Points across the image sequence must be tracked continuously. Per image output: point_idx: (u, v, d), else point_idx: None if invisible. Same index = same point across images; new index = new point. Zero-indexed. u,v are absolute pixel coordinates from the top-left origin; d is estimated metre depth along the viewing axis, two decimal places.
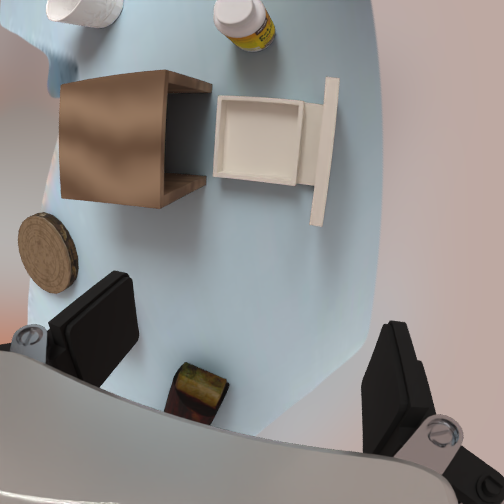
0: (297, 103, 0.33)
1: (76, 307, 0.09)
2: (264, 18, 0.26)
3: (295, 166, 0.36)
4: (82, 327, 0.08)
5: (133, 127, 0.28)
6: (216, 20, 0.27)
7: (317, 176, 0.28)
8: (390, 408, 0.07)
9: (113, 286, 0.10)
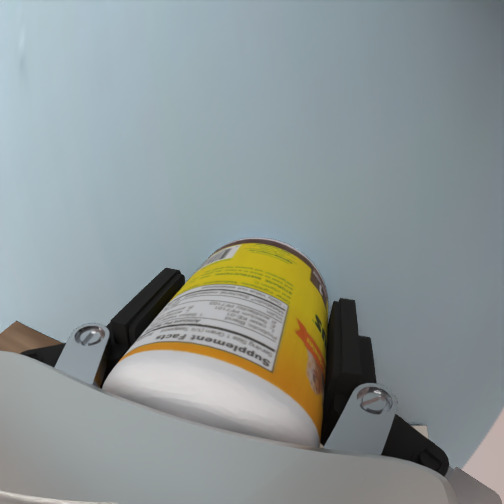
0: None
1: (137, 304, 0.09)
2: None
3: None
4: (144, 324, 0.09)
5: None
6: None
7: None
8: (328, 376, 0.08)
9: (169, 283, 0.11)
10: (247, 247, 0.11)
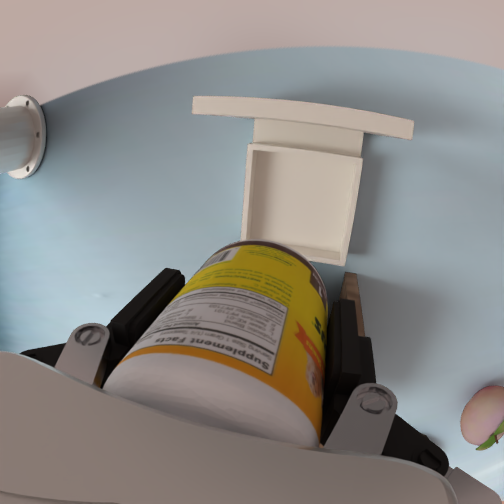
0: (251, 151, 0.27)
1: (137, 304, 0.09)
2: None
3: (336, 156, 0.26)
4: (144, 324, 0.09)
5: None
6: None
7: (338, 123, 0.17)
8: (328, 376, 0.08)
9: (169, 283, 0.11)
10: (247, 249, 0.11)
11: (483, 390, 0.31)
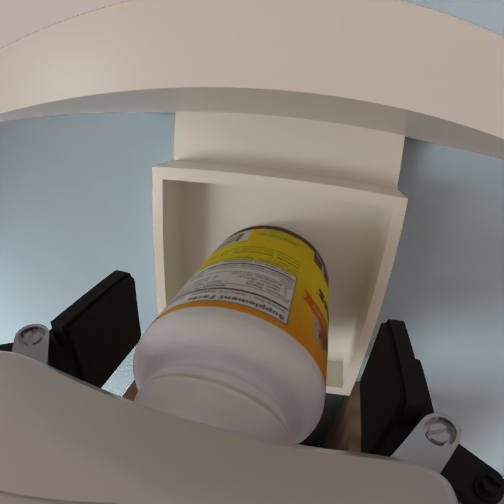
0: (159, 183, 0.13)
1: (78, 307, 0.09)
2: None
3: (347, 193, 0.11)
4: (84, 327, 0.09)
5: None
6: None
7: (398, 92, 0.03)
8: (388, 407, 0.07)
9: (115, 286, 0.10)
10: (259, 232, 0.13)
11: None
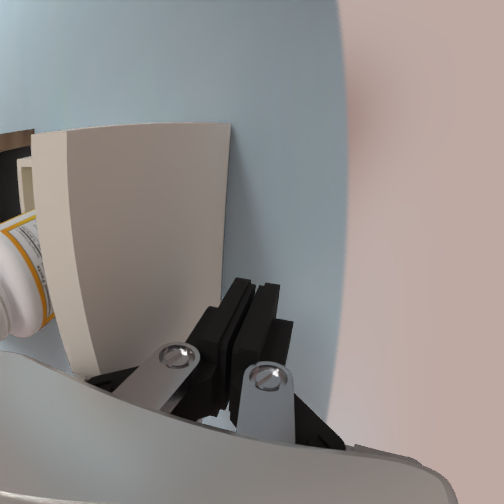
0: None
1: (222, 319, 0.09)
2: None
3: None
4: (231, 340, 0.09)
5: None
6: None
7: None
8: None
9: (245, 294, 0.11)
10: None
11: None
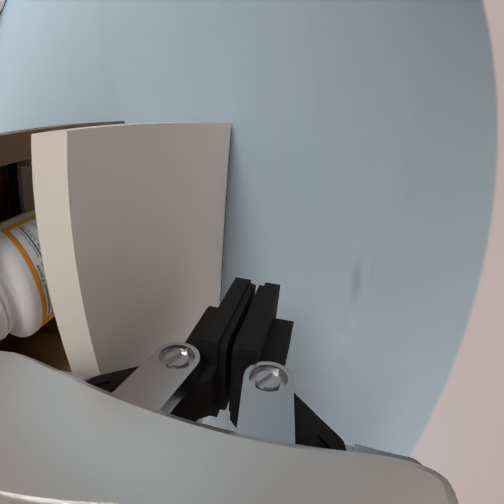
0: None
1: (222, 319, 0.09)
2: None
3: None
4: (232, 340, 0.09)
5: None
6: None
7: None
8: None
9: (245, 294, 0.11)
10: None
11: None
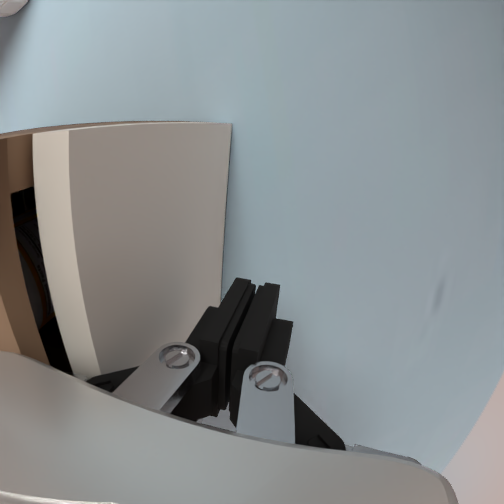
0: None
1: (222, 319, 0.09)
2: None
3: None
4: (232, 340, 0.09)
5: None
6: None
7: None
8: None
9: (245, 294, 0.11)
10: None
11: None
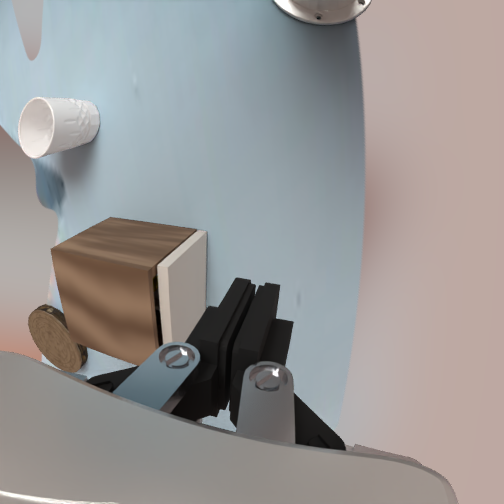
0: None
1: (222, 319, 0.09)
2: None
3: None
4: (232, 340, 0.09)
5: (127, 311, 0.33)
6: None
7: (163, 337, 0.35)
8: None
9: (245, 294, 0.11)
10: None
11: None
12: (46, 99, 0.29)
